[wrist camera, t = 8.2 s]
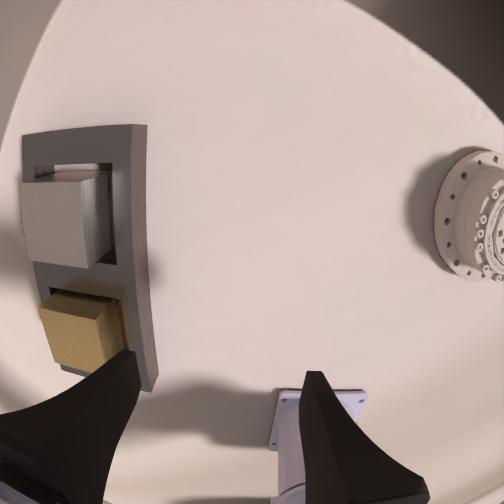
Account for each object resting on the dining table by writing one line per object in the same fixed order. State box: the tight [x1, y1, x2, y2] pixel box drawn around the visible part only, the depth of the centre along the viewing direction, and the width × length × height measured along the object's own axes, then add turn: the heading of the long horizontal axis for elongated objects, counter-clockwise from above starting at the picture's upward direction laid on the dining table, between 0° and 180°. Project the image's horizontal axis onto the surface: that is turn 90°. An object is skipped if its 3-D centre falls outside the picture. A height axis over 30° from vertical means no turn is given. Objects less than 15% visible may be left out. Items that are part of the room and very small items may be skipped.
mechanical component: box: [434, 151, 504, 282], centre depth 17 cm, size 10×4×10 cm
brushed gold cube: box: [38, 289, 128, 373], centre depth 21 cm, size 5×5×5 cm
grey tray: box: [22, 124, 159, 392], centre depth 21 cm, size 20×9×2 cm, turn 176°
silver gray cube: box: [19, 170, 115, 269], centre depth 18 cm, size 5×5×5 cm
